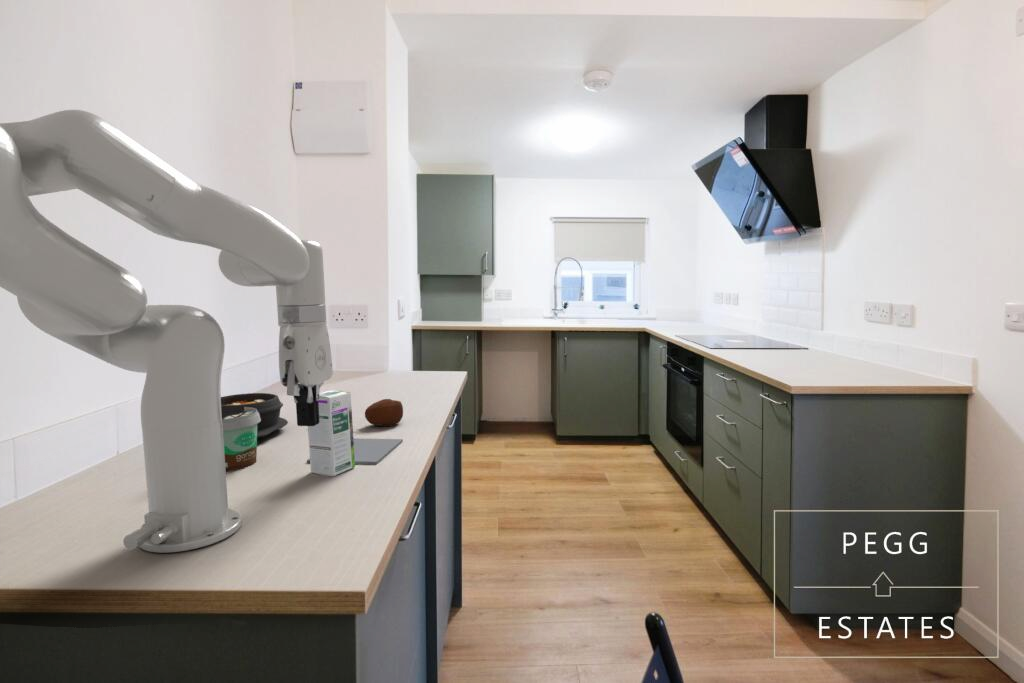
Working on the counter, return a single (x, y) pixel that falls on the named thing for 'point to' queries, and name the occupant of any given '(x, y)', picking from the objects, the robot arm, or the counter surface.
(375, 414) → the potato
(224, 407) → the casserole
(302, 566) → the counter surface
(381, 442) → the mat
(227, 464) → the food container
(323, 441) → the syrup box
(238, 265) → the robot arm
